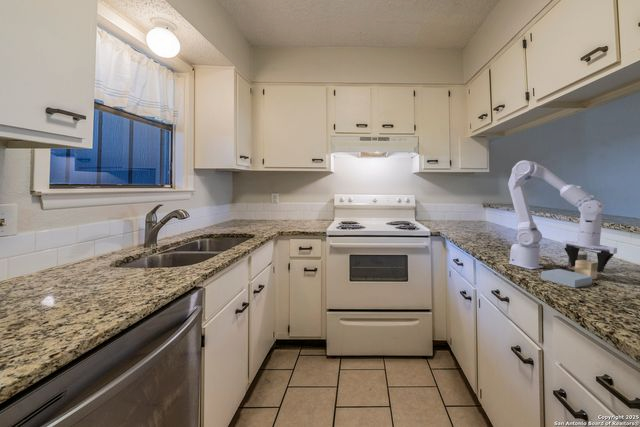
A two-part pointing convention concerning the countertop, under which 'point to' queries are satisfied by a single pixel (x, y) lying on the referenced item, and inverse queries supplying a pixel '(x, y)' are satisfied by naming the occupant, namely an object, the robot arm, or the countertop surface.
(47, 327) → the countertop surface
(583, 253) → the pill bottle
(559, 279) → the slate-blue block
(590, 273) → the maple cube
